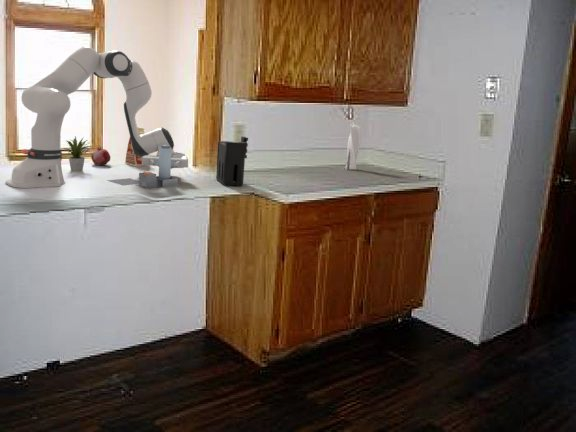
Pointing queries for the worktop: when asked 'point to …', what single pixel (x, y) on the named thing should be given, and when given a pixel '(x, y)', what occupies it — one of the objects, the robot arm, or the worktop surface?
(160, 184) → the filter head
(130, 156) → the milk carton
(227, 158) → the black machined bracket
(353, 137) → the skyscraper
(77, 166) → the house plant
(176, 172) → the worktop surface
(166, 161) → the block
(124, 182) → the mat
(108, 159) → the fruit
